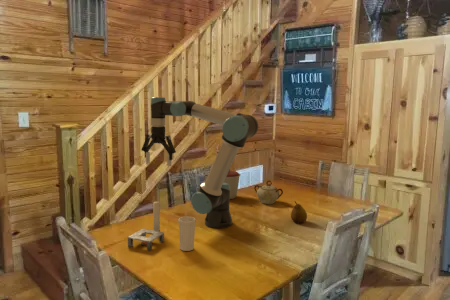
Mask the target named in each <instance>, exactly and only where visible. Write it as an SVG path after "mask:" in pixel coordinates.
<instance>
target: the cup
mask: <svg viewBox="0 0 450 300" xmlns="http://www.w3.org/2000/svg"><path fill="white" fill-rule="evenodd" d="M196 220H197V219H196V218H195V217H194V216H191V215H189V216H188V215H187V216H186V215H185V216H181V217H179V218H178V228H179V229H178V230H179V234H178V236H179V249H180V250H181V251H183V252H186V251H187V252H188V251H193V250H194V248H195V234H196V233H195V231H196V222H197V221H196Z"/></svg>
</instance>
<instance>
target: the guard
mask: <svg viewBox="0 0 450 300" xmlns="http://www.w3.org/2000/svg"><path fill="white" fill-rule="evenodd" d="M147 234H148V235H149V236H146V235H147ZM158 238H159V243H164V242H165V232H164V231H161V230H160V231H154V229H148V228H141V229H139V230H138V231H136V232H134V233H132V234H131V235H129V236H127V247H129V248H131V247H133V246H134V240H135V241H140V242H141V244H140V245H141V246H143V247H146V251H148V252H151V251H152V250H153V241H154V240H155V241H156V239H158ZM142 241H144V242H147V245H144V244H143V243H142Z"/></svg>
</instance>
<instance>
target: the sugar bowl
mask: <svg viewBox="0 0 450 300" xmlns="http://www.w3.org/2000/svg"><path fill="white" fill-rule="evenodd" d="M253 188H254V191H255V193H256V195H257V198H258V199H259V201H260V203H261V204H263V205H273V204H274V203H275V202H277V200H279V199H280V197H281V196H282V195H283V194H284V191H283V189H282V188H277V186H274V185H273V182H272V181H271V180H267V181H266V183H265V184H264V185H258V184H256V185H255V186H254V187H253Z"/></svg>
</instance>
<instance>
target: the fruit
mask: <svg viewBox="0 0 450 300" xmlns="http://www.w3.org/2000/svg"><path fill="white" fill-rule="evenodd" d="M294 203H295V205H294V206H293V207H292V209H291V212H290V219H291V220H292V221H293V222H294V223H295V224H303V223H305V222H306V221H307V218H308V213H307V211H306V210H305V208H304V207H303V206H302V205H301V204H300V203H297V202H296V201H294Z"/></svg>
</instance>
